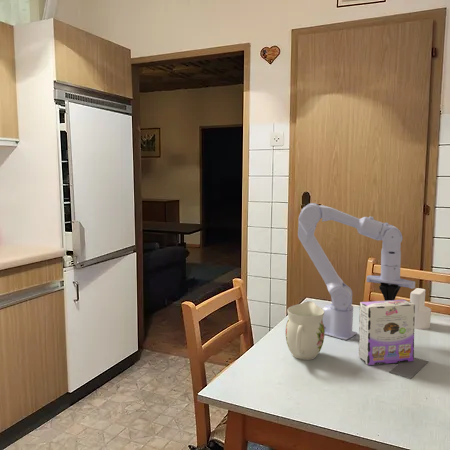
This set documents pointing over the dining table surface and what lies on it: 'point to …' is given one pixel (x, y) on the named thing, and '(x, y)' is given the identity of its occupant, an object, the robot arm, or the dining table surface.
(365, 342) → the candy box
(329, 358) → the dining table surface
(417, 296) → the base with upright slab
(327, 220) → the robot arm
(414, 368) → the mat
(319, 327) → the pitcher
